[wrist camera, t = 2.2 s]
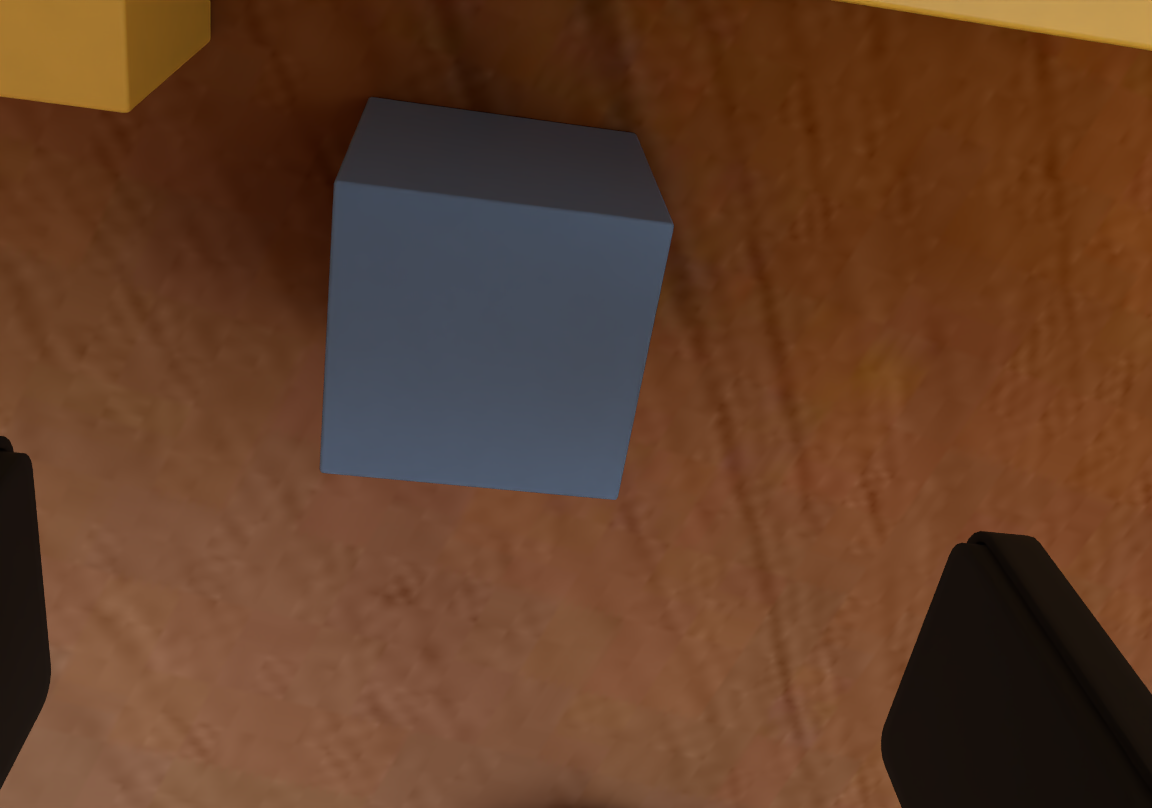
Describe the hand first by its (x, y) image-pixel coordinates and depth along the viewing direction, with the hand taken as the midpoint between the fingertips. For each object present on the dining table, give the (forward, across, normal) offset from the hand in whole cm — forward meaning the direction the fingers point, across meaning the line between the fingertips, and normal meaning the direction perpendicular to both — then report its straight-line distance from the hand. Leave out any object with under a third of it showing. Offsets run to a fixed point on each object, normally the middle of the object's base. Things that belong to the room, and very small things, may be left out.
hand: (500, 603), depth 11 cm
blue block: (+10, 0, 0) cm, 10 cm away
